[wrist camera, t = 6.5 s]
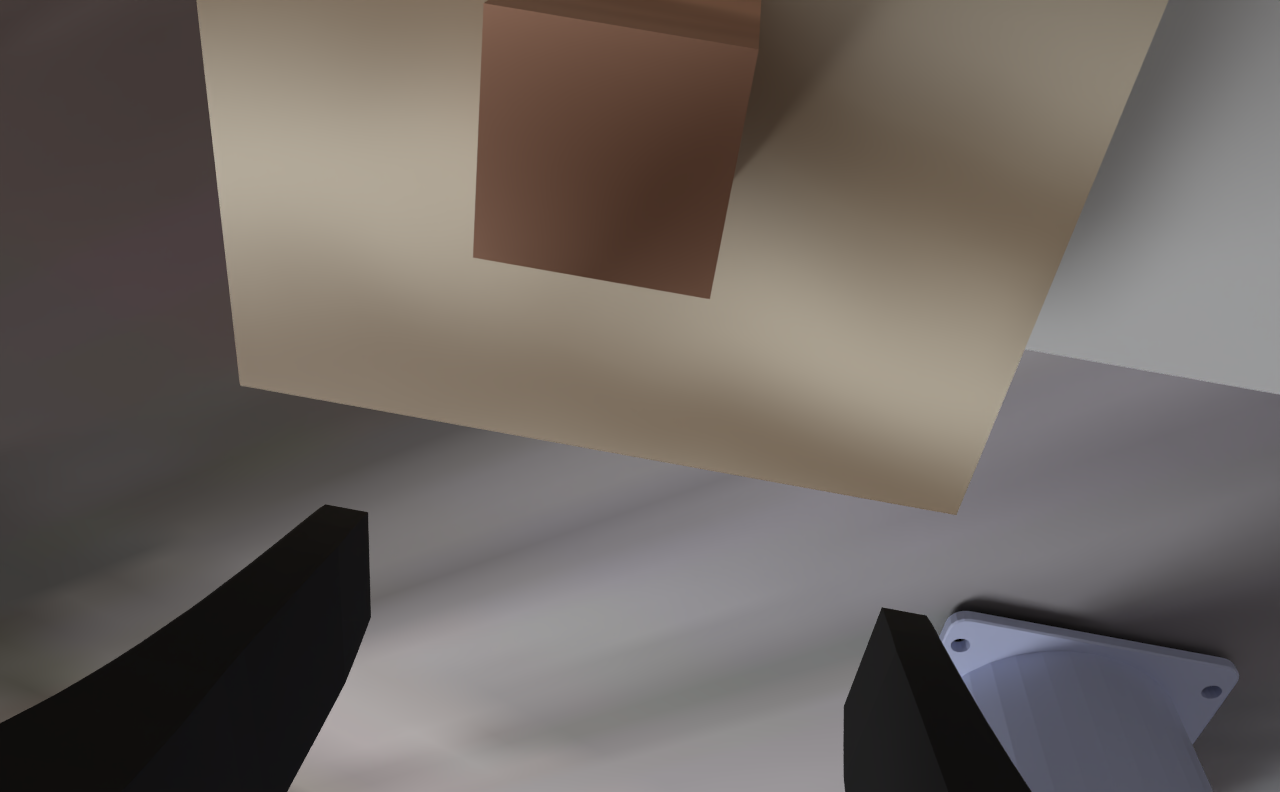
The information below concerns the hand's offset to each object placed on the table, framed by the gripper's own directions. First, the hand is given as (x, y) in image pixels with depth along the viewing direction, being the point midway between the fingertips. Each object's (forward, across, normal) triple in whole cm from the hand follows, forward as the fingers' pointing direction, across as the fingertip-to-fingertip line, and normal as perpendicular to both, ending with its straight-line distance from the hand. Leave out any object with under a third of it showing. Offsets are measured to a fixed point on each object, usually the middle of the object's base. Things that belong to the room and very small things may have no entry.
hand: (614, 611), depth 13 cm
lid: (+6, +1, -6) cm, 8 cm away
